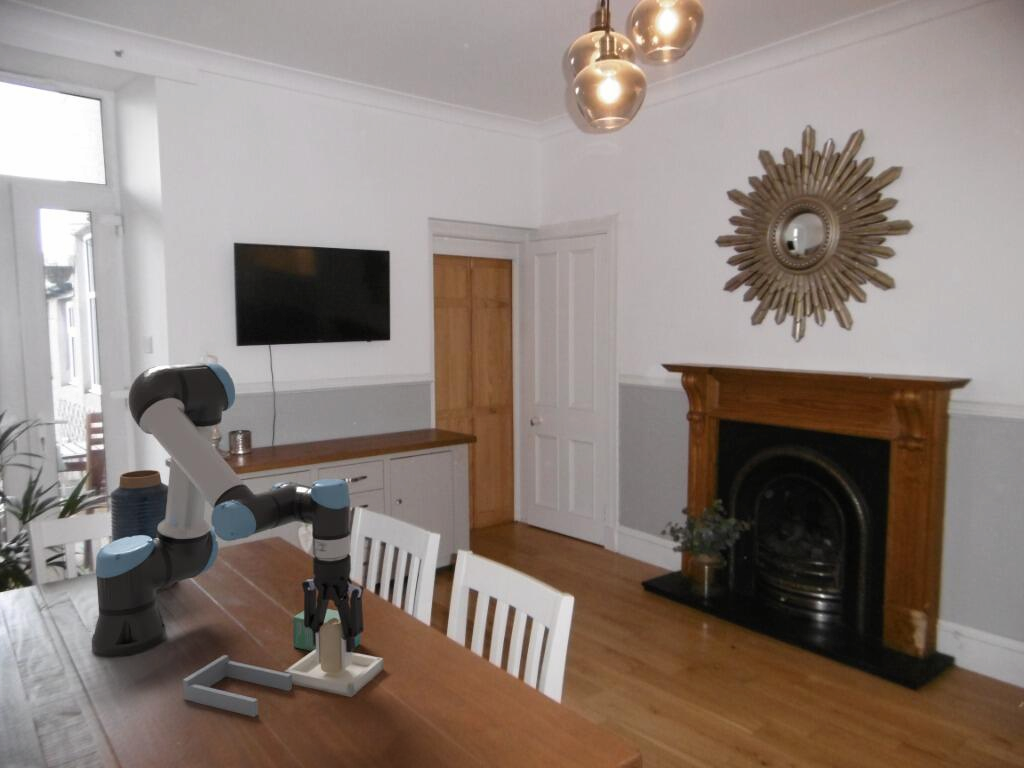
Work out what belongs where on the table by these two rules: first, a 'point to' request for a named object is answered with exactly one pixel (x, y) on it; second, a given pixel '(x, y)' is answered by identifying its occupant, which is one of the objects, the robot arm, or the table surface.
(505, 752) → the table surface
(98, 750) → the table surface
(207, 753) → the table surface
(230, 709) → the bracket
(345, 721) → the table surface
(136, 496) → the vase
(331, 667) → the candle
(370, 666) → the tray
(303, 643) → the box
